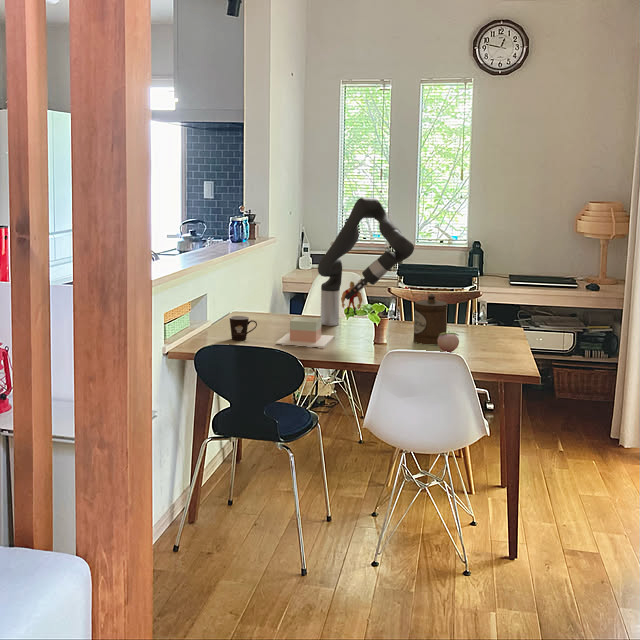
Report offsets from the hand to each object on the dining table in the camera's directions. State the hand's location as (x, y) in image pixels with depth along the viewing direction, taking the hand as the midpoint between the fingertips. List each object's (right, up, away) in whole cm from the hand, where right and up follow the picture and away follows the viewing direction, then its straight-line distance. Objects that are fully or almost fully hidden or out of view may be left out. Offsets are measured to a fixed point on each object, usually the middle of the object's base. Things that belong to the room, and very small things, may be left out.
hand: (347, 297), depth 359 cm
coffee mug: (-47, -19, +6) cm, 51 cm away
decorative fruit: (+43, -25, -11) cm, 51 cm away
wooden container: (+38, -20, +12) cm, 45 cm away
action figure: (+2, -8, +1) cm, 8 cm away
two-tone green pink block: (-19, -20, +6) cm, 28 cm away
